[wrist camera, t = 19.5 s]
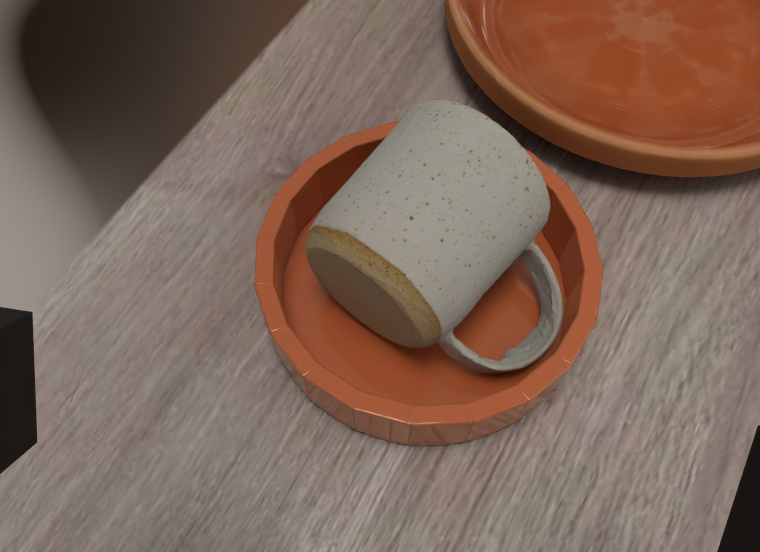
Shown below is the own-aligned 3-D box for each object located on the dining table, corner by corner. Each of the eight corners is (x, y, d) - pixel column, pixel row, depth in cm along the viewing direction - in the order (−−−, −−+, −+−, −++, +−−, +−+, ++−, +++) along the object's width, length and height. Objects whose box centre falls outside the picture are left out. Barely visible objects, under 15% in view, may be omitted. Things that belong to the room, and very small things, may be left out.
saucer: (850, -37, 42) (891, -93, 38) (823, 257, 32) (874, 215, 29) (503, -117, 46) (513, -175, 42) (383, 122, 36) (384, 72, 32)
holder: (233, 213, 33) (217, 171, 30) (497, 133, 35) (508, 86, 32) (324, 498, 27) (317, 482, 24) (638, 377, 29) (669, 348, 26)
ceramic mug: (299, 290, 30) (278, 197, 24) (404, 174, 33) (413, 62, 27) (492, 429, 28) (532, 370, 21) (588, 290, 31) (651, 198, 24)
